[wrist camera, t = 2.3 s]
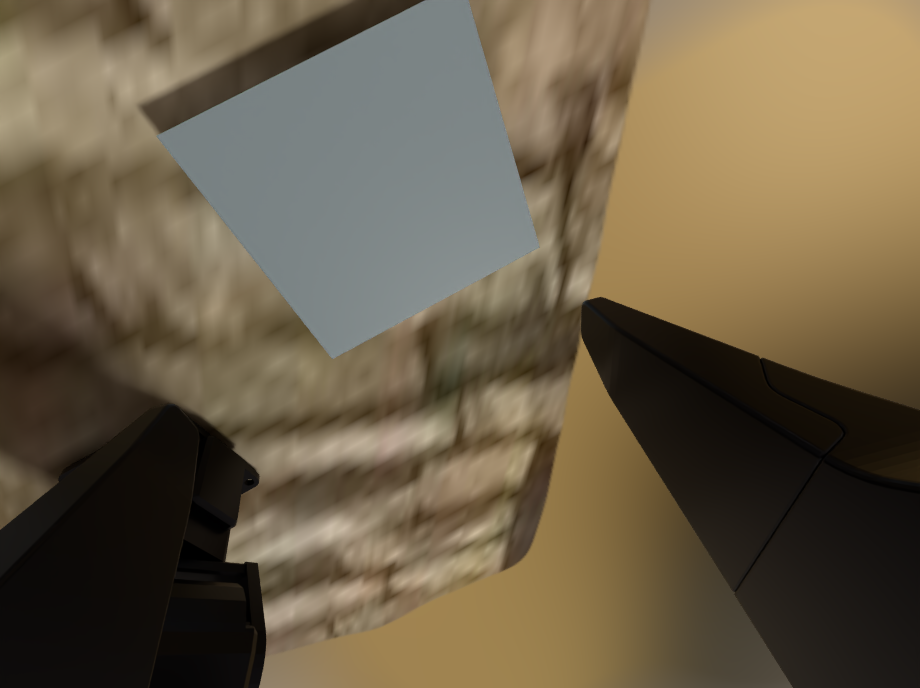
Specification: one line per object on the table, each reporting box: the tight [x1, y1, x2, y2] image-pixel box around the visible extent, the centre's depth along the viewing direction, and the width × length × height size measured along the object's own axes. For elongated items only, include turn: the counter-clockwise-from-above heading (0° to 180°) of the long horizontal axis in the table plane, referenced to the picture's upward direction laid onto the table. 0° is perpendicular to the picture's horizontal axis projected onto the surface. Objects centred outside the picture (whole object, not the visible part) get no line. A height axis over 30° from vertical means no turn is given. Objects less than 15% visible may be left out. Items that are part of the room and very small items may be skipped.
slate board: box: [157, 0, 539, 359], centre depth 18 cm, size 12×11×1 cm
